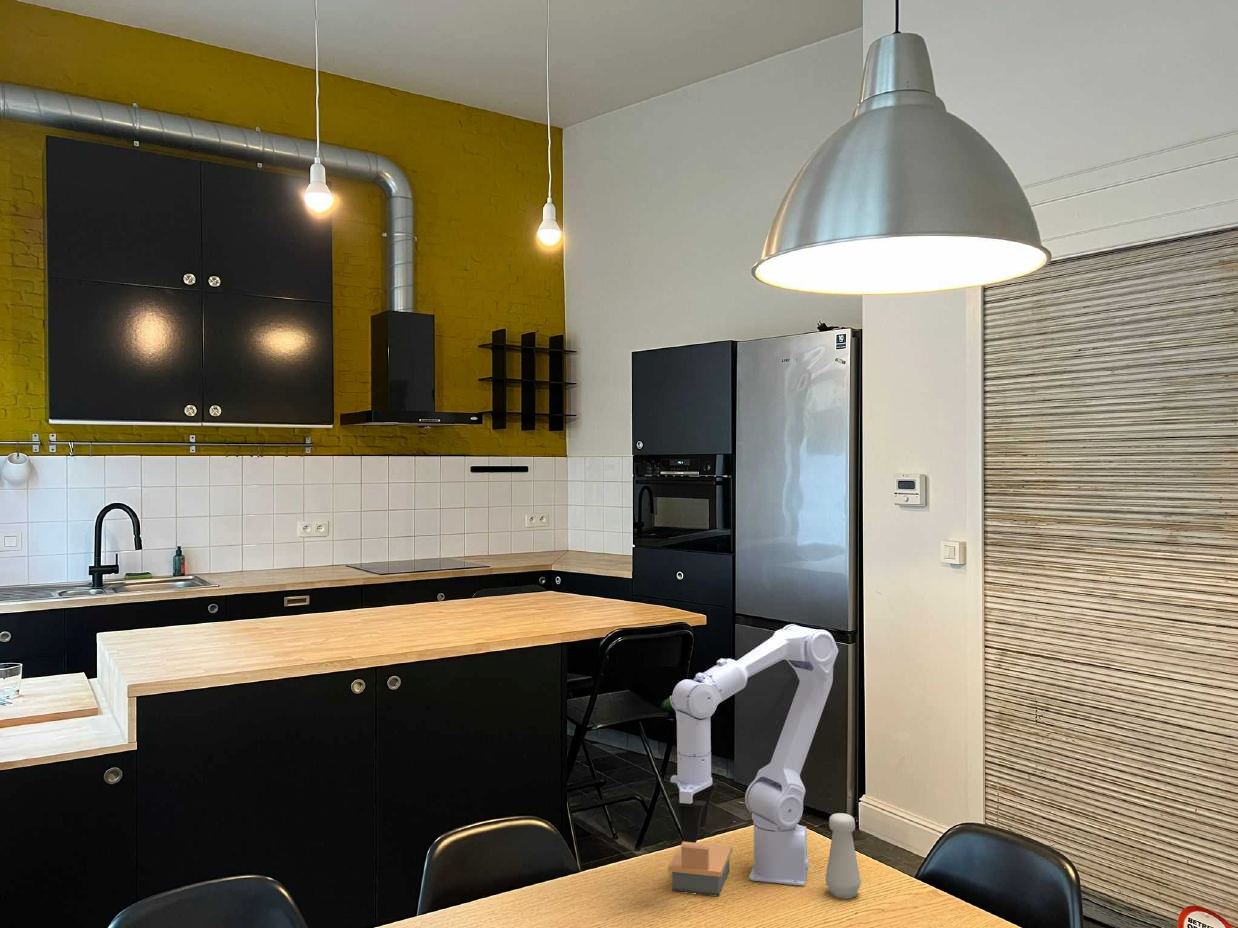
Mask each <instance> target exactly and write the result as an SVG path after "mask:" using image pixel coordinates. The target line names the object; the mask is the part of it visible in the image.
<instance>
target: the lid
mask: <svg viewBox="0 0 1238 928" xmlns="http://www.w3.org/2000/svg"><path fill="white" fill-rule="evenodd" d="M732 853H733V845H725V844H716V843H715V844H714V843H705V842H703V843H702V842H696V843H692V842H684V840H683V841H682V843H681V844H680V846H679V848H678V849H677V851H676V853H675V855H674V856H673V857H672V860H671V861H670V863H669V864H668V870H667V871H668V872H671V873H672V872H679V873H689V874H698V875H708V876H717V877H721V876H722V874H723V871H724V869H725V867H726V864H727V862H728V860H729V861H730V858H731V855H732Z"/></svg>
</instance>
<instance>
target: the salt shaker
mask: <svg viewBox="0 0 1238 928" xmlns="http://www.w3.org/2000/svg"><path fill="white" fill-rule="evenodd" d="M828 824H829V826H828V827H829V829H830V830H831V831H832V834H831V840H830V841H831V842H830V848H829V854H828V855H829V856H828V861H827V867H826V872H825V884H826V885H827V888H828V890H829V893H830V894H831V895H832V896H833V897H835V898H837V899H845V900H850V899H853V898H855V897H856V896H857V894H858V891H859V889H860V887H861V885H862V884H861V882H862V880H861V875H860V870H859V865H858V860H857V855H856V850H855V849H856V848H855V843H854V838H853V833H852V832H854V831H855V830H856V822H855V818H854V817H853V816H852V815H850V814H848V813H843V812H838V813H832V814H831V815H830V816H829V820H828Z"/></svg>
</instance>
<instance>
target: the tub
mask: <svg viewBox="0 0 1238 928" xmlns="http://www.w3.org/2000/svg"><path fill="white" fill-rule="evenodd" d="M728 873H729V874H730V859H729V860H728V862H727V864H726V867H725V869H724V871H723V874H722V876H721V877H717V876H708V875H698V874H689V873H679V872H671V891H676V892H675V893H681V892H687V893H686V894H690V893H696V894H695V895H699V894H701V895H702V896H708V895H713V896H712V897H717V896H719V897H720V895H721V893H722V891H723V888H724V886H723V885H725V883H726V881H727V878H728V876H729V874H728ZM727 875H728V876H727ZM725 880H726V881H725ZM724 882H725V883H724ZM722 887H723V888H722ZM720 892H721V893H720ZM714 895H716V896H714Z"/></svg>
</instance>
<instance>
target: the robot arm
mask: <svg viewBox="0 0 1238 928" xmlns="http://www.w3.org/2000/svg"><path fill="white" fill-rule="evenodd" d="M838 653H839V648H838V646H837V644H836V641H835V639H834V637H833V635H832V634H831V633H830V632H829V631H827V630H825V629H814V628H810V627H804V626H800V625H797V624H795V623H793V624H792V623H791V624H787V625H785V626H784V627H783V628H780V629H778V630H776V631H774V633H773V635H772V636H771V637H770V638H769V639H767V640H765V641H764V642H762V643H761V644H760V645H758V646H757V647H755V648H754V649H752V650H751V651H749V652H748V653H746V654H745V655H743V656H742V657H741V658H739V659H738V660H735V659H732V658H720V659H718V660H717V661H716V665H714V666H712V667H711V668H709V669H708V670H706V671H704V672H697V673H696V674H695V677H694V678H693V679H688V678H687V679H683V680H681V681H679V682H678V683H677V684H676V685H675V687H674V689H673V691H672V695H670V696H669V702H670V704H671V707H672V708H673V709H674V711H675V718H676V740H677V741H676V745H677V746H676V748H677V749H676V752H677V754H676V755H677V756H676V757H677V759H676V761H677V769H676V771H677V775H676V774H675V775H674V774H673V775H672V776H671V777H670V783H672V784H673V783H674V784H676V785H677V789H679V796H673V797H672V798H671V801H670V802H671V806H672V808H673V810H674V812H675V814H676V817H677V819H678V822H679V826H680V827H679V828H680V832H681V836H682V839H683V841H684V842H692V843H697V841H698V837H699V830H700V827H701V828H705V827H706V825H707V821H708V815H709V809H710V804H711V800H712V796H713V794H714V792H715V789H716V788H717V783H716V782H715V781H713V777H712V752H711V751H712V750H711V749H712V745H711V743H712V741H711V736H712V735H711V727H712V726H711V725H712V723H711V717H712V715H714V713H715V711H716V710H717V707H718V705H719V704H720V703H722V702H724V701H725V700H727V699H728V698H730V697H731V696H733V695H735V694H737V693H738V692H740V691H742V690H743V689H744V688H746V686H747V683H748V678H750V677H752V676H754V675H756V674H758V673H760V672H761V671H763V670H765V669H767V668H769V667H771V666H773V665H775V664H777V663H779V662H781V661H783V660H786V661H787V662H788V664H789V665H790V667H792V668H793V670H794V671H795V673H796V676H797V678H798V680H799V683H798V686H797V689H796V692H795V694H794V696H793V700H792V703H791V706H790V709H789V711H788V713H787V716H786V719H785V722H784V725H783V727H782V729H781V733H780V735H779V737H778V741H777V744H776V747H775V749H774V752H773V755H772V758H771V760H770V762H769V763H768V764H766V765H765V766H763V767H762V768H760V769H758V771H757V774H756V775H755V778H754V779H753V781H751V783H750V784H749V785H748V787H747V789H746V791H745V795H744V801H745V805H746V809H747V810H748V811H749V812H750V813H751V819H752V821H753V865H752V869H751V872H750V873H749V877H748V879H749V880H750V881H755V882H762V883H764V882H765V883H773V884H784V885H793V886H801V887H802V886H805V884H806V882H807V881H806V880H807V876H808V871H809V865H810V864H809V859H808V831H807V830H808V828H807V826H805V825H800V824H798V823H800V821H801V819H802V816H803V811H804V800H805V799H804V798H805V795H806V787H805V785H804V783H803V781H802V779H801V772H802V770H803V767H804V765H805V761H806V759H807V757H808V754H809V750H810V747H811V744H812V742H813V739H814V736H815V733H816V730H817V727H818V725H819V722H820V719H821V716H822V713H823V710H824V708H825V706H826V702H827V699H828V696H829V694H830V691H831V688H832V685H833V680H834V665H835V662H836V659H837V656H838ZM779 785H780V786H779Z"/></svg>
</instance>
